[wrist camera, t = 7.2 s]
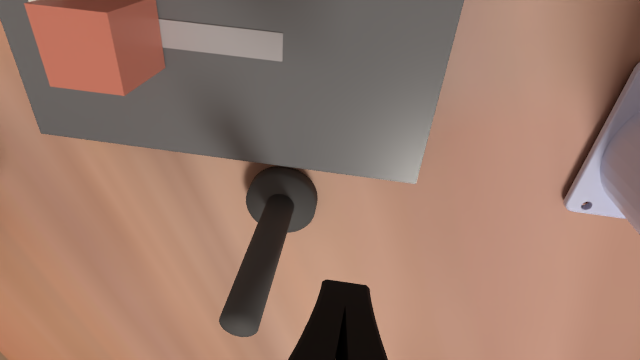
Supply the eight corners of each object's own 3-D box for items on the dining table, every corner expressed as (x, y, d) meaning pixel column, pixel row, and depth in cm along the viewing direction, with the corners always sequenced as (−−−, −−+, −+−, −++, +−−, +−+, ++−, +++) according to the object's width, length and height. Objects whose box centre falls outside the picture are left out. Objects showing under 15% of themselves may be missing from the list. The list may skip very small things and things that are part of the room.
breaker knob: (155, -4, 16) (107, 12, 13) (165, 67, 18) (124, 95, 15) (86, -12, 16) (23, 3, 14) (102, 60, 18) (50, 86, 15)
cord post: (319, 170, 22) (289, 298, 14) (315, 226, 24) (286, 361, 17) (249, 162, 22) (184, 282, 15) (251, 217, 24) (195, 346, 17)
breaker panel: (483, -108, 14) (493, -111, 13) (413, 168, 21) (415, 184, 20) (-28, -154, 16) (-65, -161, 14) (59, 121, 22) (40, 133, 21)
